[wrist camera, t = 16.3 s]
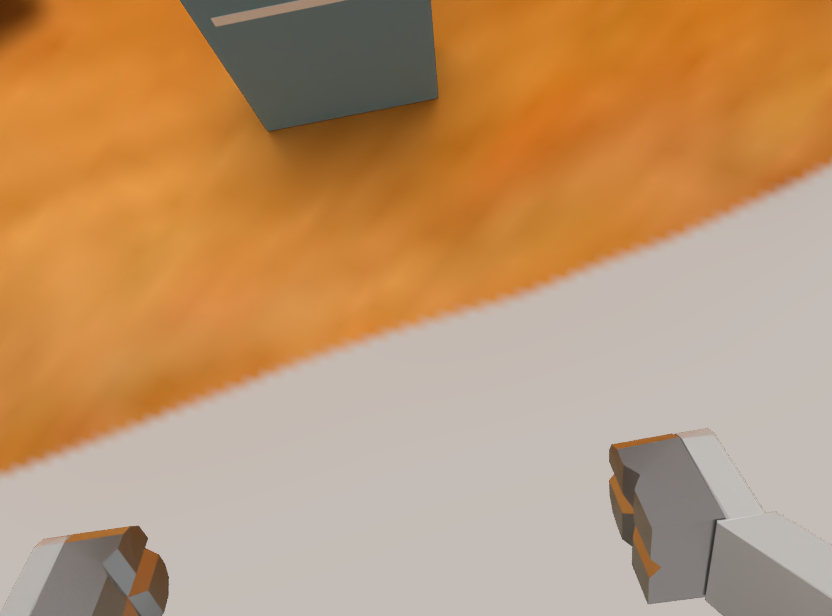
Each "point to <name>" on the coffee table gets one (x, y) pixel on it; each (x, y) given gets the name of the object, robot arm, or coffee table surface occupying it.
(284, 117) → the domino
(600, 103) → the coffee table surface
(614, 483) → the robot arm
